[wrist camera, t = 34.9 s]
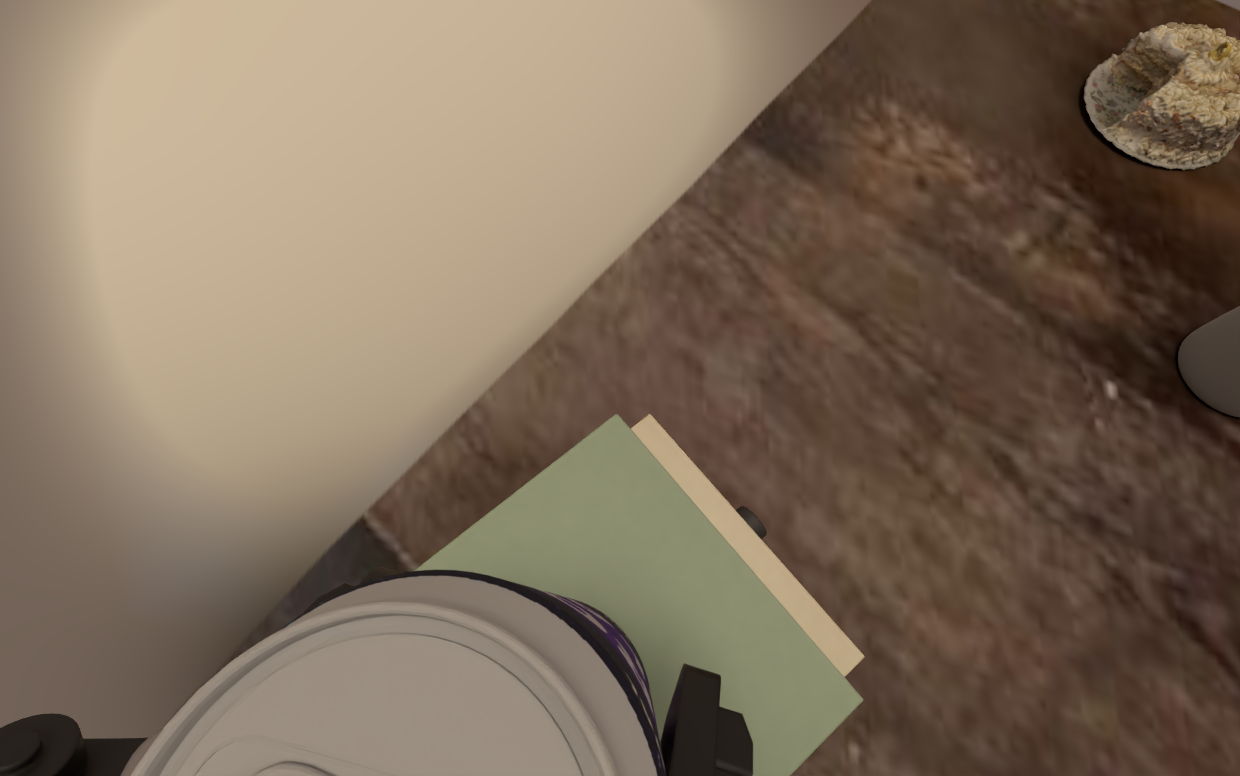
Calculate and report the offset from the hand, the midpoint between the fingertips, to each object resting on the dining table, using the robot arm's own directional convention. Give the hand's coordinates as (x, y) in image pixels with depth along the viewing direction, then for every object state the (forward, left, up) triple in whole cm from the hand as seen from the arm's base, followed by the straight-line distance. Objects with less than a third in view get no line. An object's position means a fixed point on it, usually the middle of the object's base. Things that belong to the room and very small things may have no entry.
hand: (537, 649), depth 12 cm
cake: (-27, -41, -18) cm, 53 cm away
